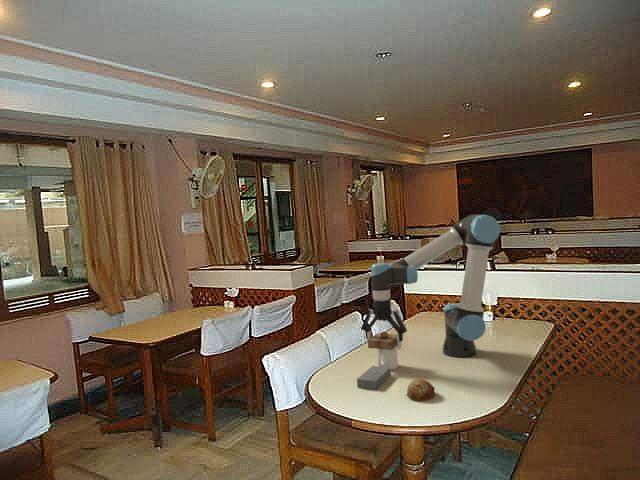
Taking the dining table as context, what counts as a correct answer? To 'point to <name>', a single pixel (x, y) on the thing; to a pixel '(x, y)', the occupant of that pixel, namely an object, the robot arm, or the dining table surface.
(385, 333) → the lid
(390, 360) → the mug
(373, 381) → the grey flat block
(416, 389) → the bread roll
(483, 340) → the dining table surface
